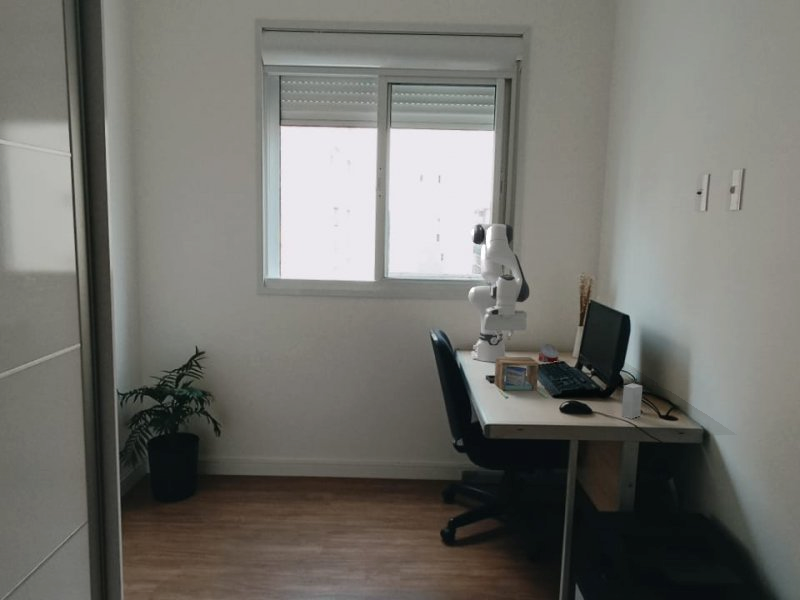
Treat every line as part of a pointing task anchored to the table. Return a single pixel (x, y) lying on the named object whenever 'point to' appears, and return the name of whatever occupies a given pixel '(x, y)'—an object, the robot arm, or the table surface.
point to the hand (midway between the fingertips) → (503, 339)
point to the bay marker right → (542, 393)
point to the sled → (516, 387)
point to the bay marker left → (502, 393)
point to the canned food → (548, 353)
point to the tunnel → (516, 361)
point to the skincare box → (632, 400)
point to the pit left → (490, 378)
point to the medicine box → (515, 376)
